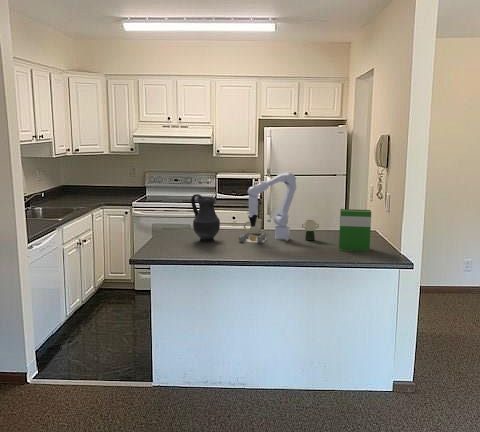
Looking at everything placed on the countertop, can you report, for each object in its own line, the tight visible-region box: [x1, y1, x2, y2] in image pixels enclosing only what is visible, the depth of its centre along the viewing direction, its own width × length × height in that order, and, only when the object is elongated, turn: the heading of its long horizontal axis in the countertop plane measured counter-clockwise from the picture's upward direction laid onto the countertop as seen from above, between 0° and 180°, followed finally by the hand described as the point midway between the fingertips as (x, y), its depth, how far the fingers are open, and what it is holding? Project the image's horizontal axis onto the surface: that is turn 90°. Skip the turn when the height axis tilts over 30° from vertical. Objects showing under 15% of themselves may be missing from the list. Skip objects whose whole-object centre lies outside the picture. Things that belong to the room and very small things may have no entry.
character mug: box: [301, 219, 320, 241], centre depth 326 cm, size 11×7×13 cm, turn 83°
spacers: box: [238, 232, 266, 245], centre depth 321 cm, size 15×14×4 cm
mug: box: [243, 218, 262, 235], centre depth 345 cm, size 8×13×10 cm, turn 81°
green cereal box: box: [338, 208, 372, 252], centre depth 300 cm, size 18×7×24 cm, turn 80°
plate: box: [243, 237, 267, 244], centre depth 321 cm, size 15×16×1 cm
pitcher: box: [190, 193, 221, 243], centre depth 322 cm, size 17×21×30 cm
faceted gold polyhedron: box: [249, 235, 258, 241], centre depth 322 cm, size 4×5×2 cm
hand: (253, 226), depth 321 cm, fingers closed
